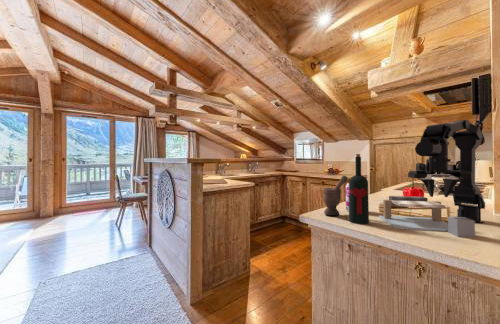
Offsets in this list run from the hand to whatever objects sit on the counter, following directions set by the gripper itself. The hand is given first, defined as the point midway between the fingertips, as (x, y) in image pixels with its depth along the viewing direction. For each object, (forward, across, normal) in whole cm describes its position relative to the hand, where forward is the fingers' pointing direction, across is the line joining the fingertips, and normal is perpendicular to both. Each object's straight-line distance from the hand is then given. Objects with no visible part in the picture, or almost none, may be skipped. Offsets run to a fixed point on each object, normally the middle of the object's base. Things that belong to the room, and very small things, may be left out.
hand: (438, 196), depth 85 cm
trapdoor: (+4, +4, -12) cm, 14 cm away
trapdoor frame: (+13, +4, -6) cm, 15 cm away
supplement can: (+13, +23, -29) cm, 39 cm away
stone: (+13, -4, +5) cm, 14 cm away
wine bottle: (+13, +27, -6) cm, 31 cm away
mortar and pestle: (+13, +34, -20) cm, 42 cm away
